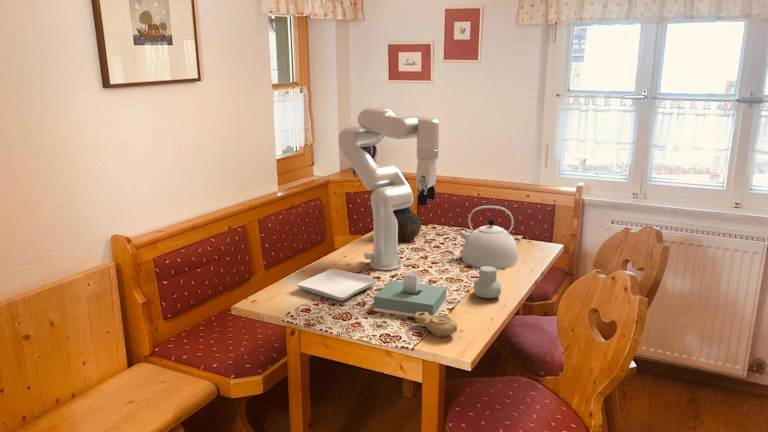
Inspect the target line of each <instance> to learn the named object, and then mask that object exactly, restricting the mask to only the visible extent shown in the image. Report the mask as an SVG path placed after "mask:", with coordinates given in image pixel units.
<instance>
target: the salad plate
mask: <svg viewBox="0 0 768 432" xmlns="http://www.w3.org/2000/svg"><path fill="white" fill-rule="evenodd" d="M377 282H378V279H377V278H374V277H373V278H372V277H369V276H365V275H362V274H358V273H354V272H351V271H346V270H343V269H338V268H331V269H328V270H326V271H324V272H321V273H318V274H316V275H313V276H312V277H309V278H307V279H304V280H302V281H299V282H297V283H296V286H297V287H298V288H299V289H302V290H304V291H306V292H308V293H309V292H310V293H311V294H316V295H318V296H321V297H325V298H329V299H331V300H332V299H333V300H336V301H340V302H341V301H345V300H347V299H349V298H351V297H352V296H355V295H357V294H358V293H360V292H362V291H364V290H367V289H368V288H371V287H372V286H373V285H375V284H376V283H377ZM354 294H355V295H354Z"/></svg>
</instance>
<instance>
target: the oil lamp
mask: <svg viewBox="0 0 768 432" xmlns="http://www.w3.org/2000/svg"><path fill="white" fill-rule="evenodd" d="M414 319H415V321H416V323H418V324H420V325H422V326H423V325H424V327H425V328H426V329H427V330H428V331H430V332H431V333H432V334H433V335H434V336H435V337H439V338H446V337H449V336H450V335H452V334H455V333H456V332H457V331H458V325H457V323H456V321H455V320H454V319H453V318H451V317H450V316H447V315H443V314H441V315H439V314H438V315H436V316H432V315H429V314H428V312H417V313H416V314H415V317H414Z"/></svg>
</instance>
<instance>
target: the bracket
mask: <svg viewBox="0 0 768 432" xmlns="http://www.w3.org/2000/svg"><path fill="white" fill-rule="evenodd" d="M402 279H403V280H402V282H403V294H408V295H415V296H418V295H419V284H420V273H416V272H415V273H414V272H405V273H404V274H403V278H402Z"/></svg>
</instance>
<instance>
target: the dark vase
mask: <svg viewBox="0 0 768 432" xmlns="http://www.w3.org/2000/svg"><path fill="white" fill-rule="evenodd" d="M404 179H405V180H406V182H407V183H408V185H410V182H408V178H406V177H404ZM410 206H411V205H410ZM410 206H409V207H407V208H403V209H398V210H394V211H393V213H394V215H395V217H396V219H397V222H398V242H407V241H410V240H411V241H412V240H413V239H414V238H416V237H418V235H419V234H420V231H421V229H422V220H421V218H420V217H419V215H418V214H417V213H415V212H413V211H412V210H411V207H410Z"/></svg>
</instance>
